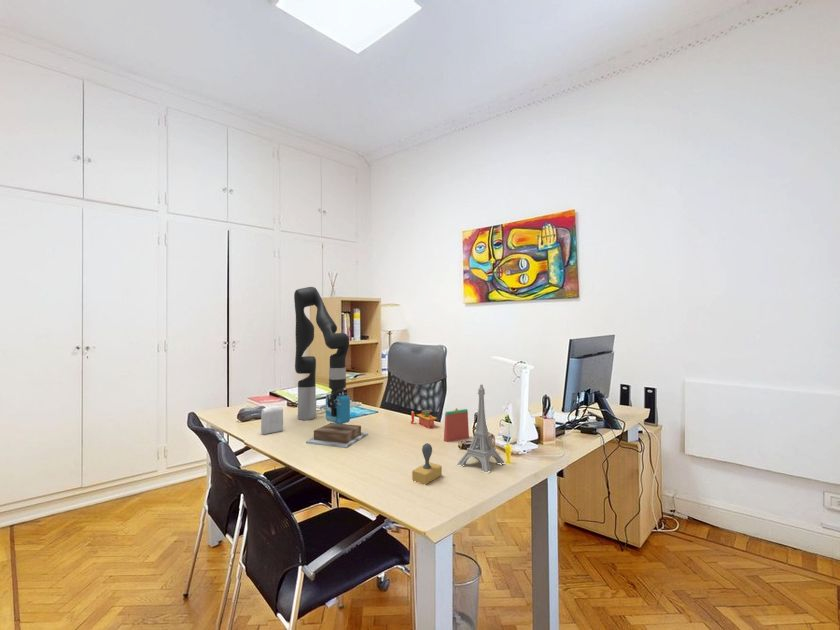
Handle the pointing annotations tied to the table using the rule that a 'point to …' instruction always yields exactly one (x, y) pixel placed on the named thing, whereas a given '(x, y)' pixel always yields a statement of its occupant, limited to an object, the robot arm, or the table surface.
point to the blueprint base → (337, 435)
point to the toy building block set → (448, 423)
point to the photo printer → (271, 419)
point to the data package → (339, 410)
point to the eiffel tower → (481, 440)
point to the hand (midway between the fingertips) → (337, 414)
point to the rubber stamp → (427, 468)
